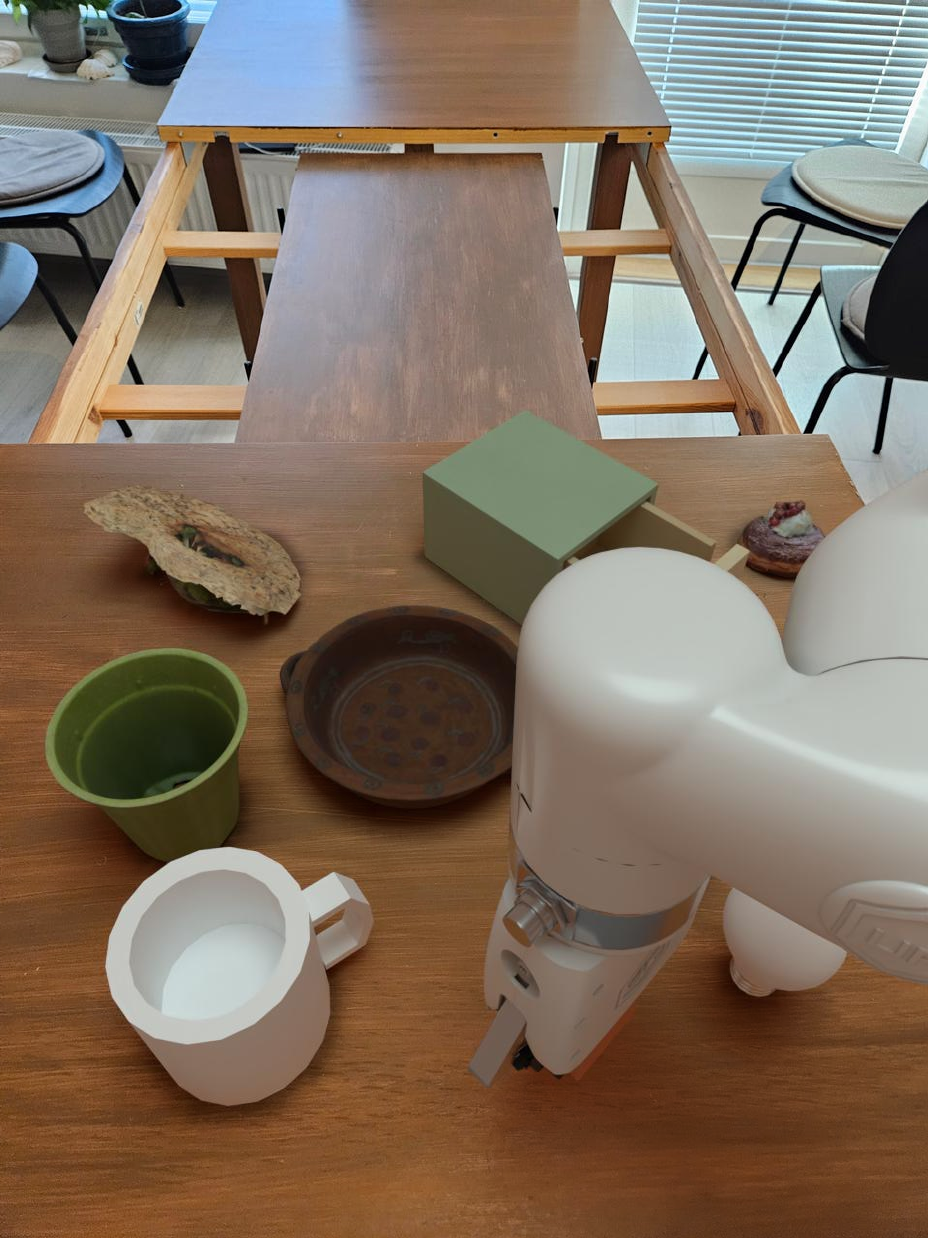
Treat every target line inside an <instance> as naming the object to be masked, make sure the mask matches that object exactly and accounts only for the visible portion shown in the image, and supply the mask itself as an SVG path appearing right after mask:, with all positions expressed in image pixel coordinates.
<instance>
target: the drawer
mask: <svg viewBox="0 0 928 1238" xmlns="http://www.w3.org/2000/svg"><path fill="white" fill-rule="evenodd" d="M716 545H717V541H716V540H715V539H714V538H711V537H709V536H708V535H707V534H704V533H703V532H701V531H699V530H697V529H696V528H694V527H692V526H690V525H689V524H687V523H685V522H683V521H681V520H680V519H678V518H677V517H676V516H673V515H671V514H670V513H667V512H666V511H664V510H662V509H661V508H659V507H658V506H656V505H655V504H654V505H652V504H650V503H648V502H647V501H643V502H642V503H641V504H640V505H638V506H637V507H636V508H634V509H633V510H632V511H630V512H629V513H628V514H626V515H625V516H624V517H622V518H621V519H620V520H618V521H617V522H616V523H614V524H613V525H612V526H610V527H609V528H608V529H606V530H605V531H604V532H602V533H601V534H600V535H598V536H597V537H596V538H594V539H593V540H592V541H591V542H589V543H588V544H587V545H585V546H584V547H583V548H581V549H580V550H579V551H577V552H576V553H575V554H573V555H572V556H571V557H569V558H568V559H567V560H565V561H564V562H563V570H565V569H566V568H568V567H569V566H571V565H572V564H574V563H575V562H577V561H580V560H582V559H584V558H586V557H588V556H591V555H594V554H597V553H601V552H605V551H610V550H615V549H620V548H632V547H648V548H661V549H667V550H673V551H679V552H682V553H686V554H689V555H692V556H696V557H699V558H701V559H703V560H706V561H708V562H710V563H712V559H713V555H714V552H715V549H716ZM749 553H750V551H749V550H747V549H746V548H744V547H742V546H740V545H739V543H736V544H735V545H733V546H732V547H731V548H730V549H729V550H728V551H726V553H724V554H723V555H722V556H721V557H719V558H718V559H717V560H716V561H715V562H714V563H713V564H715V565H717V566H719V567H720V568H722V569H724V570H726V571H727V572H729V573H731V574H732V575H734V576H735V577H736V578H738V579H739V580H740V581H741V578H742V575H743V574H744V570H745V568H746V565H747V563H746V561H747V559H748V556H749Z"/></svg>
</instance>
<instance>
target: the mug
mask: <svg viewBox="0 0 928 1238" xmlns="http://www.w3.org/2000/svg"><path fill="white" fill-rule="evenodd" d="M343 910H344V912H343V914H342V918H341V919H340V920H338V921H337V922H335V923H334V924H332V925H331V926H329V927H327V928H325V929H324V930H323V931H320V932H319V933H318V934H316V931H315V928H316V927H317V926H319V925H320V924H322V923H323V922H325V921H326V920H328V919H329V918H331V917H333V916H335V915H336V914H338V913H339V912H341V911H343ZM374 923H375V920H374V916H373V912H372V908H371V904H370V903H369V900H367V898H366V897H365V895H364V893H363V892H362V890H361V888H360V887H359V886H358V884H357V882H355V879H353V878H352V877H351V878H350V877H348V876H347V875H346V876H345V875H344V874H341V873H338V872H336V871H332V872H331V873H329V874H327V875H326V876H324V877H323V878H321V879H319V880H317V881H315V882H314V883H312V884H311V885H309V886H307V887H305V888H304V889H303V890H302V889H301V886H300V884H299V882H297V881H296V879H294V877H293V876H292V875H291V874H290V873H289V871H288V870H287V869H286V868H285V867H284V866H283V865H282V863H280V862H277V861H276V860H273V859H272V858H270V857H269V856H267V855H265V854H262V853H261V852H259V851H255V850H251V849H244V848H239V847H234V846H233V847H232V846H224V847H218V848H215V849H207V850H199V851H197V852H194V853H192V854H189V855H187V856H184V857H182V858H179V859H177V860H174V861H172V862H167V863H166V864H165V865H164V866H163V867H161V868H160V869H158V870H157V871H156V872H155V873H153V874H152V875H150V876H149V877H147V878H146V879H145V880H143V882H142V883H141V884H140V885H139V886H138V887H137V889H136V890H135V891H134V892H133V894H132V895H131V896H130V897H129V899H128V900H127V901H126V902H125V903H124V904H123V905H122V907H121V909H120V912H119V913H118V916H117V918H116V920H115V923H114V925H113V927H112V930H111V931H110V934H109V936H108V942H107V943H108V944H107V951H106V959H105V965H104V967H105V972H106V978H107V981H108V986H109V990H110V995H111V998H112V999H113V1001H114V1002H115V1004H116V1005H117V1007H118V1008H119V1010H120V1011H121V1012H122V1014H123V1015H124V1016H125V1018H126V1020H127V1021H128V1023H129V1024H130V1026H131V1027H132V1028H133V1029H134V1031H135V1032H136V1033H137V1035H138V1036H139V1037H140V1038H141V1039H142V1041H143V1042H144V1044H146V1046H147V1047H148V1048H149V1050H150V1051H151V1052H152V1053H153V1055H154V1056H155V1057H156V1059H157V1060H158V1062H160V1064H161V1065H162V1066H163V1068H164V1069H165V1070H166V1071H167V1073H168V1074H169V1075H170V1077H171V1079H172V1080H173V1081H174V1082H175V1083H176V1085H177V1086H178V1087H180V1088H181V1089H183V1090H184V1091H186V1092H187V1093H189V1094H190V1095H192V1096H193V1097H195V1098H197V1099H199V1101H202V1102H206V1103H212V1104H215V1105H221V1106H227V1107H230V1106H231V1107H232V1106H238V1105H244V1104H251V1103H257V1102H260V1101H262V1100H263V1099H265V1098H266V1099H267V1098H268V1097H270V1096H271V1095H274V1094H276V1093H278V1092H279V1091H282V1090H284V1089H285V1088H286V1087H287V1086H289V1085H290V1084H291V1083H292V1082H293V1081H294V1080H295V1079H296V1078H298V1076H299V1075H301V1074H302V1073H303V1072H304V1071H305V1070H306V1069H307V1068H308V1067H309V1065H310V1063H311V1061H312V1060H313V1059H314V1057H315V1055H316V1053H317V1052H318V1050H319V1048H320V1047H321V1045H322V1044H323V1042H324V1040H325V1035H326V1032H327V1027H328V1024H329V1020H330V1016H331V994H330V992H331V990H330V989H331V988H330V984H329V980H328V975H327V972H326V970H328V969H330V968H332V967H334V966H336V964H338V963H340V962H341V961H343V960H344V959H346V958H347V957H349V956H350V955H352V954H353V953H355V952H357V951H358V950H360V949H361V948H363V947H364V946H366V945H367V943H368V940H369V937H370V934H371V932H372V928H373V925H374Z"/></svg>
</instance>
